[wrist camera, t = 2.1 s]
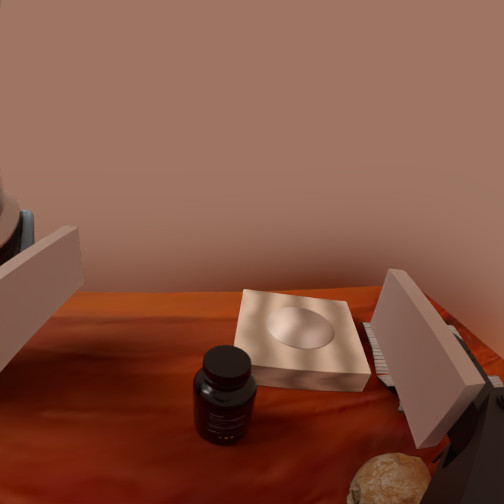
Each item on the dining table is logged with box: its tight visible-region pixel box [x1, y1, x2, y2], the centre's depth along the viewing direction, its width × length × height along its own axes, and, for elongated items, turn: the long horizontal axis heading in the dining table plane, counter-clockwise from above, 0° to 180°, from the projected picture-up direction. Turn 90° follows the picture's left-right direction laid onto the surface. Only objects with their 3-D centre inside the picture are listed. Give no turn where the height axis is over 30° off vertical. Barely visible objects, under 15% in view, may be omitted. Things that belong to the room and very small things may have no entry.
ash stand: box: [234, 289, 371, 392], centre depth 49 cm, size 20×20×4 cm
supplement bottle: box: [193, 345, 257, 445], centre depth 31 cm, size 7×7×12 cm
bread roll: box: [347, 453, 431, 504], centre depth 23 cm, size 10×10×8 cm
